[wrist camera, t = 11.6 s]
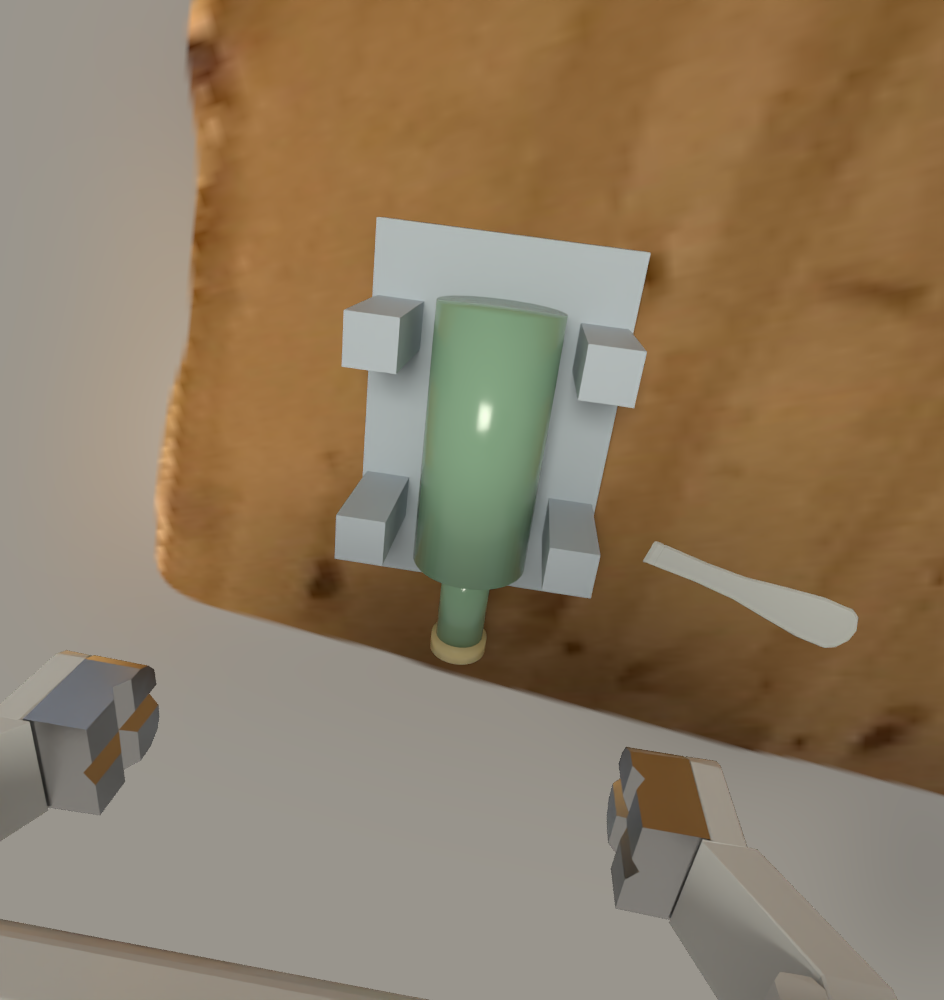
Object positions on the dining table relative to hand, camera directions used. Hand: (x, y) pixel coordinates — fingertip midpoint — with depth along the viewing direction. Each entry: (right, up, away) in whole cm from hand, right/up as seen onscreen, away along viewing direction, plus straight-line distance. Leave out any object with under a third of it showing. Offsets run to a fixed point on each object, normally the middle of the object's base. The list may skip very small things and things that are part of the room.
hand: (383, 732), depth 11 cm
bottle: (+2, +5, +19) cm, 20 cm away
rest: (+2, +8, +19) cm, 20 cm away
